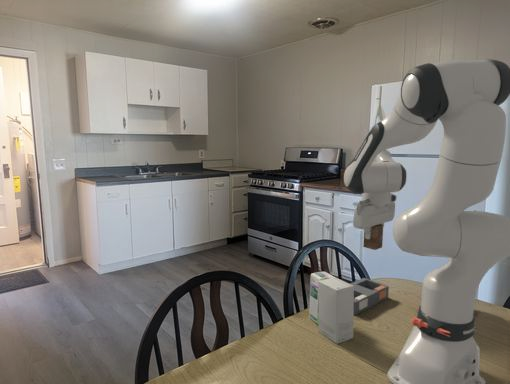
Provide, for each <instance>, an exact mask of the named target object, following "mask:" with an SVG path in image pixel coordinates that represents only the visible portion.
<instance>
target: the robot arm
mask: <svg viewBox="0 0 510 384" xmlns="http://www.w3.org/2000/svg"><path fill="white" fill-rule="evenodd" d="M400 86H401V87H400V92H399V94H398V96H397V98H396V100H395V103H394V106H393V108H392V109H391V111H390V112H389V113H388V114H387V115H386V116H385V117H384V118H383V119H382V120H381V121H379V122H377V123H375V124H374V125H373V126H372V127H371V129H370V130H369V132H368V133H367V135H366V137H365V138H364V140H363V142H362V143H361V145H360V147H359V149H358V151H357V152H356V154H355V156H354V157H353V159H352V160H351V161H350V162H349V164H348V165H347V166H346V167H345V170H344V173H343V184H344V186H345V188H346V189H347V190H348V191H349V192H350V193H352V194H353V195H356V194H357V195H359V194H361V200H360V201H358V203H357V204H356V206H355V208H354V212H353V220H352V226H353V227H354V228H355V229H357V230H358V229H359V230H363V233H364V232H365V238H366V239H371V238H372V234H371V232H370V230H371V227H372V226H375V225H379V224H381V225H383V228H384V227H385V223H388V222H392V221H393V220H394V218H395V213H396V201H397V195H396V194H394V193H396V192H398V193H399V192H400V191H401V190H403V188H404V187H405V186H406V183H407V170H406V168H405V167H404V165H403V164H402V163H400V162H397V161H395V160H394V159H393V158H392V155H391V152H390V149H393V148H395V147H400V146H401V147H402V146H405V145H410V144H414V143H418V142H420V141H421V140H424V139H425V138H426V137H427V136H428V135H429V134H430V133H431V132H432V131H433V129H434V128H435V127H436V125H437V122H438V120H439V121H440V122H441V125H442V127H443V135H442V136H443V137H442V142H441V146H440V150H439V155H438V156H439V157H438V161H437V167H436V169H435V170H436V171H435V174H434V178H433V181H432V184H431V186H430V188H429V190H428V191H427V193H425V195H424V196H423V197H422V199H421V200H420V201H418V202H417V203H416V204H415V205H414V206H413V205H412V206H411V207H409V208H408V209H406V210H404V211H401V213H400V214H399V215H398V216H397V218H396V219H395V221H394V224H393V228H392V236H393V239H394V242H395V244H396V246H397V247H398V248H399V249H400V250H401V251H402V252H406V253H408V254H413V255H417V256H421V257H430V258H431V257H433V258H434V257H436V258H449V259H448V261H446V262H445V264H443V265H442V266H441V267H438V268H435V269H433V270H430V271H429V272H428V273H427V274H426V275H425V276H424V278H423V280H422V282H421V283H422V284H421V298H420V299H421V300H420V305H419V307H418V310H417V313H416V316H414V317H413V318H412V320H411V325H412V326H413V327H412V329H411V331H410V333H409V335H408V337H407V339H406V341H405V343H404V345H403V347H402V350H401V351H400V353H399V354H398V356H397V357H396V359H395V360H394V362H393V363H392V365H391V366H390V368H389V369H388V371H387V374H386V375H387V376H386V377H387V378H388V380H389V381H390V382H391V383H392V384H486V383H487V382H486V380H485V378H483V377H482V376H481V375H480V361H481V360H480V353H481V352H480V350H481V349H480V347H479V345H478V344H477V342H476V340H475V338H474V333H475V329H476V322H475V321H476V319H475V317H474V311H475V303H476V298H477V292H478V289H479V286H480V284H481V282H482V280H483V278H484V277H485V275H486V274H487V273H489V271H490V270H491V269H492V268H493V267H494V266H495V265H497V264H498V263H499V262H501V261H503V260H506V259H507V258H509V257H510V218H509V216H506V215H502V214H498V213H492V212H488V211H483V210H482V211H481V210H480V211H477V210H468V208H470V207H473V206H475V205H477V204H479V203H481V202H484V201H485V200H486V199H488V197H490V196H491V194H492V193H493V191H494V187H495V183H496V180H497V177H498V173H499V168H500V165H501V162H502V157H503V152H504V148H505V142H506V141H505V140H506V130H507V129H506V128H507V115H506V113H505V112H506V111H505V110H504V109H503V108H502V107H501V106H500V105H502V104H503V103H505V102H506V100H507V99H508V98H509V96H510V67H509V65H508V64H507V63H506V62H503V61H500V60H497V59H491V58H490V59H489V58H487V59H486V58H484V59H479V60H478V59H477V60H476V59H470V60H469V59H466V60H465V59H464V60H462V59H453V60H445V61H444V60H443V61H439V62H435V63H429V62H428V63H423V64H420V65H417V66H414V67H413V68H411V69H409V70H408V72H406V74H405V76H404V78H403V80H402V82H401V85H400ZM388 149H389V150H388Z"/></svg>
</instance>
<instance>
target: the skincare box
mask: <svg viewBox="0 0 510 384" xmlns="http://www.w3.org/2000/svg"><path fill="white" fill-rule="evenodd" d="M318 315H319V325H318V332H319V333H320V334H322V335H323V336H325V337H326V338H328V340H330V341H331V342H333V343H334V344H336V345H337V344H341V343H344V342H348V341H349V340H352V339H353V338H354V319H355V318H354V286H353V285H351V284H350V283H348V282H346V281H344V280H342V279H339V278H338V277H336V276H333V278H329V279H326V280H321V281H318Z"/></svg>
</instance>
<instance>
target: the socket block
mask: <svg viewBox="0 0 510 384" xmlns="http://www.w3.org/2000/svg"><path fill="white" fill-rule="evenodd" d="M349 284H351V285H353V286H354V316H355V317H356V316H357V315H360V314H361V313H363V312H365V311H367V310H369V309H371V308H372V307H375V306H377V305H379V304H380V303H382V302H384V301H385V300H388V299H389V291H390V290H389V287H390V286H389V285H386V284H383V283H381V282H377V281H376V280H371V279H369V278H366V277H362V278H359V279H357V280H355V281H353V282H351V283H349Z"/></svg>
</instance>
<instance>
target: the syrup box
mask: <svg viewBox="0 0 510 384" xmlns="http://www.w3.org/2000/svg"><path fill="white" fill-rule="evenodd" d="M333 277H334V276H333V275H332V274H330V273H328V272H326V271H318V272H313V273H311V274H310V291H309V313H308V314H309V315H308V317H309V318H308V319H311V320H312V321H313V322H314V323H316V324H317V325H318V326H319V315H318V281H321V280H326V279H329V278H333Z"/></svg>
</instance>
